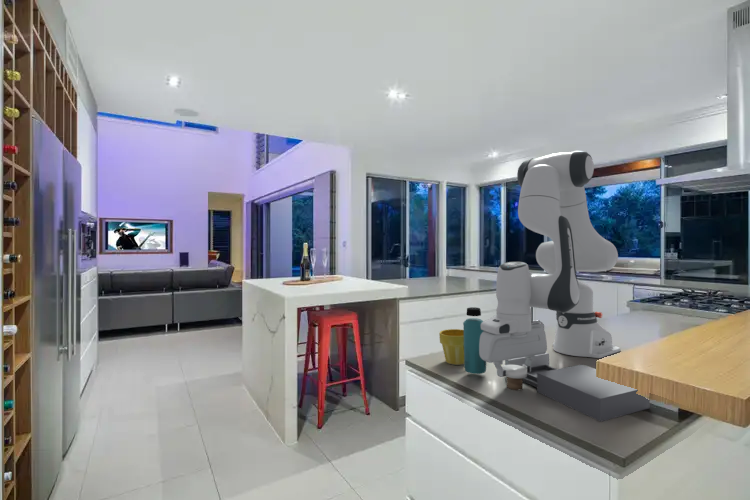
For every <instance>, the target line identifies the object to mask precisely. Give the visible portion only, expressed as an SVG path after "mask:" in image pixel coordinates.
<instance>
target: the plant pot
mask: <svg viewBox="0 0 750 500" xmlns="http://www.w3.org/2000/svg"><path fill="white" fill-rule="evenodd" d="M439 343H440V344H441V347H442V351H443V354H444V358H445V363H447V364H448V365H455V366H459V365H460V366H462V365H464V350H463V349H464V346H463V345H464V329H459V328H458V329H457V328H453V329H452V328H450V329H444V330H441V331H439Z"/></svg>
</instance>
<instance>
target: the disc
mask: <svg viewBox="0 0 750 500" xmlns="http://www.w3.org/2000/svg"><path fill="white" fill-rule="evenodd" d="M501 366H502V368H503V369H504V370H506V376H505V378H507V377H509V378H516V379H520V378H525V377H527V368H525V367H523V366H520V365H505V364H504V365H501Z"/></svg>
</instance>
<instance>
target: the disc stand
mask: <svg viewBox="0 0 750 500" xmlns="http://www.w3.org/2000/svg"><path fill="white" fill-rule="evenodd" d="M523 383H524V382H523V381H522V378H520V379H516V378H509V377H506V388H507V389H510V390H513V391H521V390H523V385H524V384H523Z"/></svg>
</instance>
